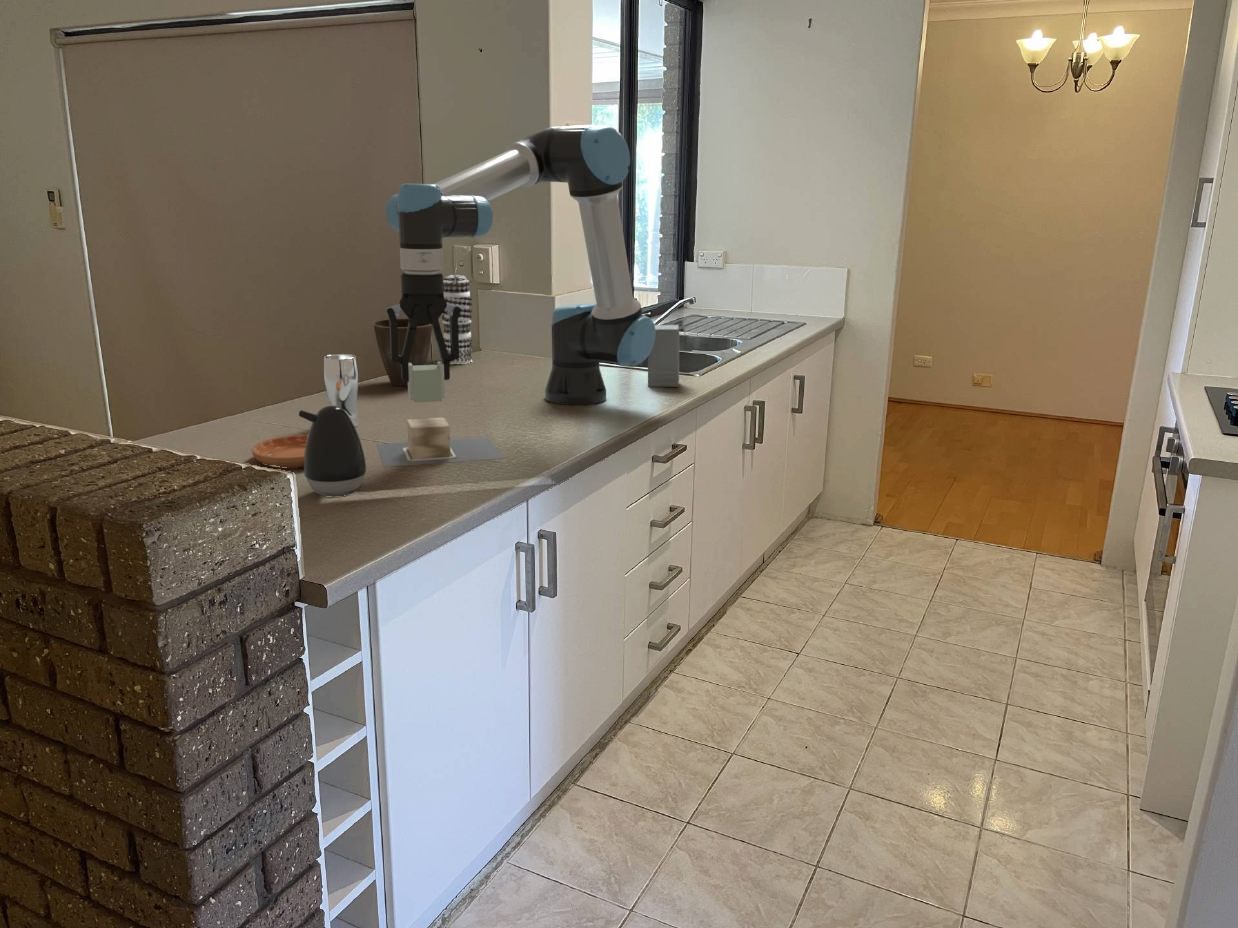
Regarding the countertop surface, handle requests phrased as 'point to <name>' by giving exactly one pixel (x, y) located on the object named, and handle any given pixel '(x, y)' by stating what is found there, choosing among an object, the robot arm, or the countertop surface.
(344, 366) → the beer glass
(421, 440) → the maple block
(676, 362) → the skincare box
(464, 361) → the decorative candle
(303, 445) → the saucer
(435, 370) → the sage block
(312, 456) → the pump dispenser
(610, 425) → the countertop surface
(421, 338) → the plant pot
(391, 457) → the board
